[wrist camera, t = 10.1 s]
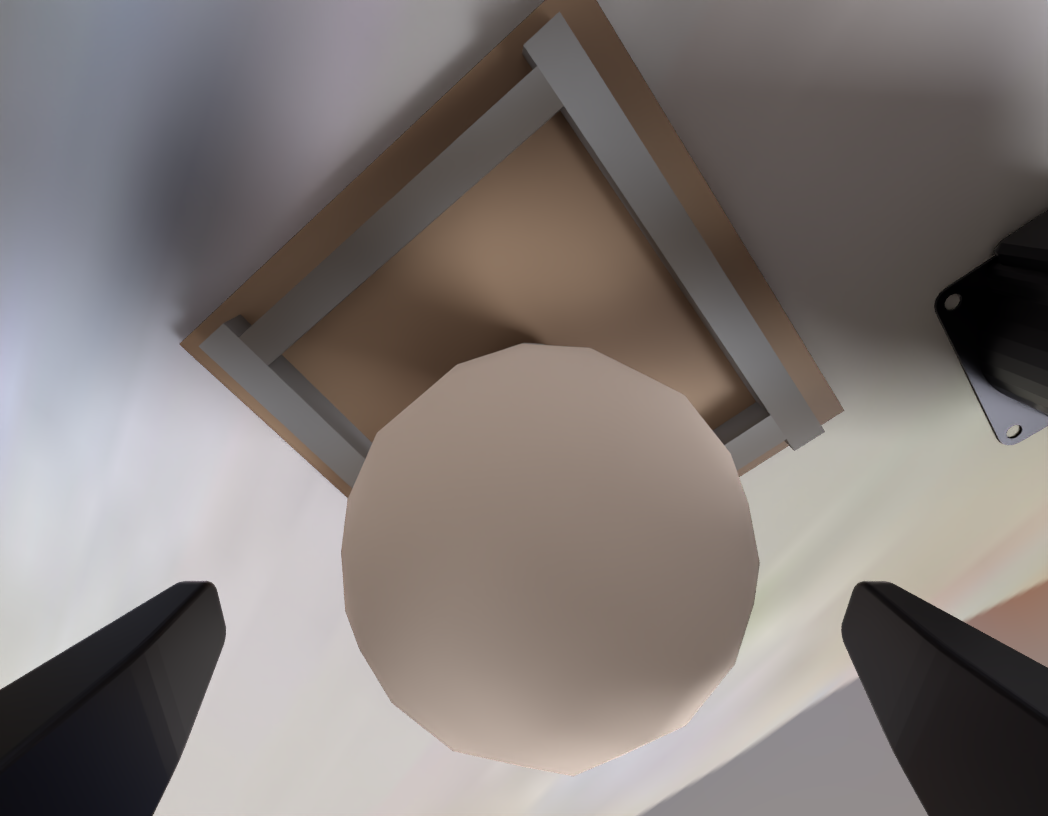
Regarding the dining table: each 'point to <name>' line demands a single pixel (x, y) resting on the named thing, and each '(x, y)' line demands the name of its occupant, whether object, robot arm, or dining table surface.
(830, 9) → the dining table surface
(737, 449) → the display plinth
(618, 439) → the light bulb
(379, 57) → the dining table surface
